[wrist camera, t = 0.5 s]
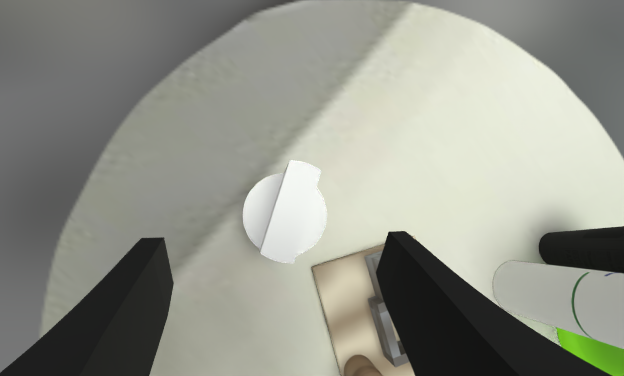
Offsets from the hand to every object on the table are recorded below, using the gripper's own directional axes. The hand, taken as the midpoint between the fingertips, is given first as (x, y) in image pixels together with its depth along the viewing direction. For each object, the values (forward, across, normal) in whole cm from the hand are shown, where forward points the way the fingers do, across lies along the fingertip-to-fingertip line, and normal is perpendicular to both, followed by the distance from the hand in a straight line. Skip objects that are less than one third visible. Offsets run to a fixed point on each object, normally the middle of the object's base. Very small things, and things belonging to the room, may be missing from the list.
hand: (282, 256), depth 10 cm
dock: (+15, -15, +26) cm, 33 cm away
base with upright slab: (+23, -2, +16) cm, 28 cm away
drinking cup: (+19, -42, +20) cm, 50 cm away
